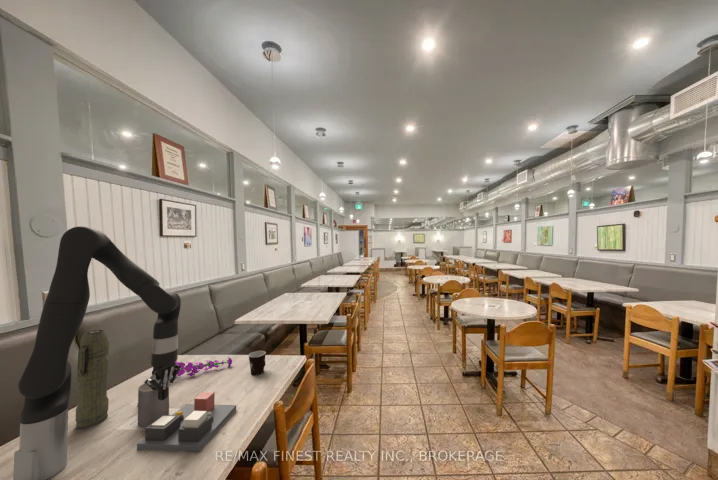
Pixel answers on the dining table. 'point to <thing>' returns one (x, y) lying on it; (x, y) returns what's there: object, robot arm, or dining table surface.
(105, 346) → the thermos
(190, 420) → the block
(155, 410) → the pillar candle
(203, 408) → the cap
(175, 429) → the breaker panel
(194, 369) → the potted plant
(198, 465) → the dining table surface
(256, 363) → the coffee mug
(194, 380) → the dining table surface
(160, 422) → the button
